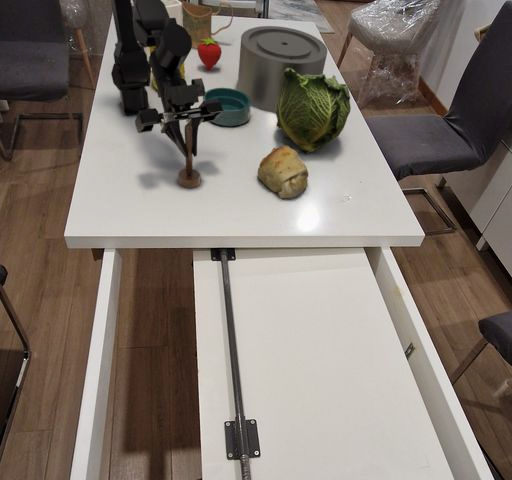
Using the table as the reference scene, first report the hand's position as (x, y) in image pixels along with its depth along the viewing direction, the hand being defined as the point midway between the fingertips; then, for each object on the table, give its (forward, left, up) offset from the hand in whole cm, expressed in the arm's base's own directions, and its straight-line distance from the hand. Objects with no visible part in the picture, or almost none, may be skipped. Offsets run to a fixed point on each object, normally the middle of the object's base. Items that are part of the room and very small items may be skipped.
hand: (191, 157), depth 93 cm
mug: (+31, +77, -7) cm, 83 cm away
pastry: (+22, -4, -7) cm, 23 cm away
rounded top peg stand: (0, +1, -7) cm, 7 cm away
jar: (+6, +69, -7) cm, 70 cm away
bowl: (+20, +29, -7) cm, 36 cm away
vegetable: (+37, +12, -7) cm, 39 cm away
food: (+9, +48, -7) cm, 49 cm away
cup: (+15, +67, -7) cm, 69 cm away
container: (+41, +39, -7) cm, 57 cm away
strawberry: (+25, +57, -7) cm, 63 cm away
